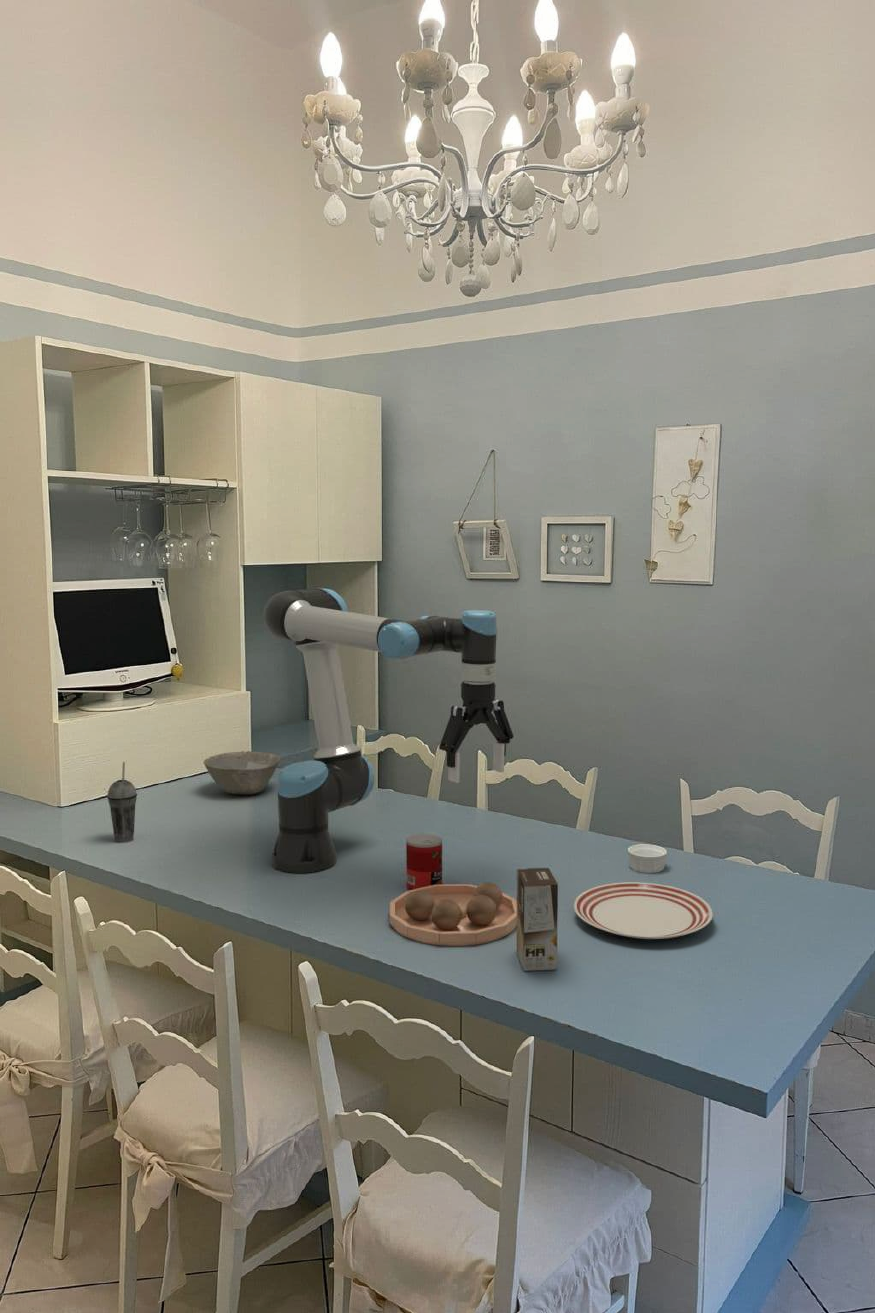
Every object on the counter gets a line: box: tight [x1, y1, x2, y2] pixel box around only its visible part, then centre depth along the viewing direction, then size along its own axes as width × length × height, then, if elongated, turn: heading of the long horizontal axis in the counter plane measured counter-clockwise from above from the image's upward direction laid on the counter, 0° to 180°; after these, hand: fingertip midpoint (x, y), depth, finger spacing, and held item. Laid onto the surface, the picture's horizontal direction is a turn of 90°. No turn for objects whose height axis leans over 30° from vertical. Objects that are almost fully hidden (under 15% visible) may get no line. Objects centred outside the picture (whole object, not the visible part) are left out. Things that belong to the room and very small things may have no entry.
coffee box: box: [516, 867, 559, 972], centre depth 182 cm, size 9×6×16 cm
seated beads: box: [405, 881, 503, 931], centre depth 201 cm, size 18×18×6 cm
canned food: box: [405, 833, 443, 890], centre depth 219 cm, size 8×8×11 cm
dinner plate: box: [573, 881, 714, 940], centre depth 201 cm, size 27×27×3 cm
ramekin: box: [627, 843, 668, 874], centre depth 232 cm, size 9×9×4 cm
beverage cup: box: [106, 761, 138, 843], centre depth 253 cm, size 7×7×20 cm
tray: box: [389, 883, 517, 947], centre depth 202 cm, size 26×26×2 cm
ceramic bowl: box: [203, 750, 281, 796], centre depth 298 cm, size 22×23×10 cm
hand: (476, 776), depth 220 cm, fingers open, 13 cm apart
